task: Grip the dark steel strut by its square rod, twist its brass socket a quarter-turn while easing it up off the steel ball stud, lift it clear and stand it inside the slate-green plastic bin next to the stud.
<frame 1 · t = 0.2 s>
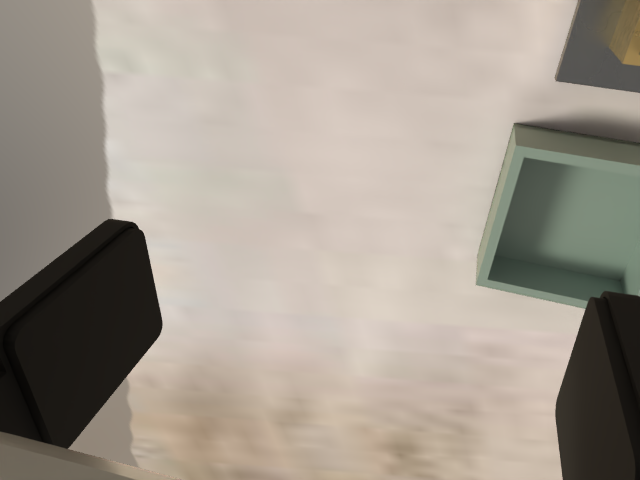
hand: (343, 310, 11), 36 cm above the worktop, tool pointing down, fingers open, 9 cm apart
bin: (571, 208, 45), on the worktop
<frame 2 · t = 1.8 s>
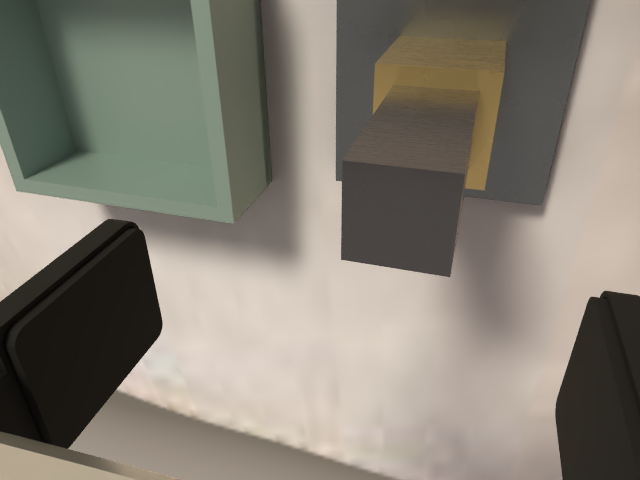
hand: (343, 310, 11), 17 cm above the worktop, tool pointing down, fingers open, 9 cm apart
bin: (149, 54, 28), on the worktop
strut: (445, 90, 23), point 1 cm above the worktop, touching ball stud
ball stud: (447, 84, 24), on the worktop
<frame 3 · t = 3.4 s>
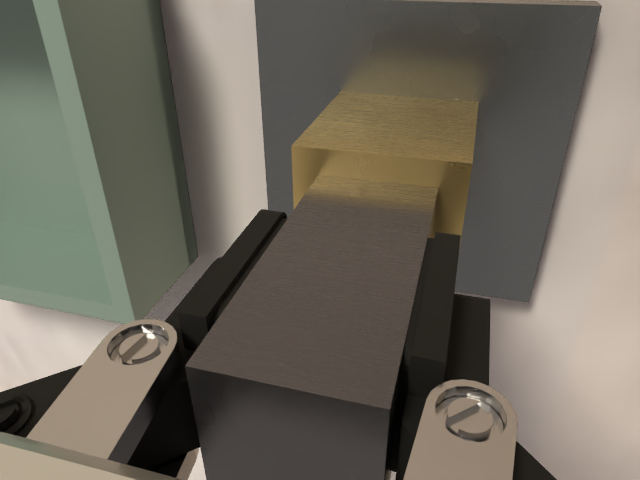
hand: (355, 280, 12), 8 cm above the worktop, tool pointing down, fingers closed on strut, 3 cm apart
bin: (37, 104, 22), on the worktop
strut: (402, 161, 18), point 1 cm above the worktop, touching ball stud, gripper
ball stud: (406, 150, 19), on the worktop
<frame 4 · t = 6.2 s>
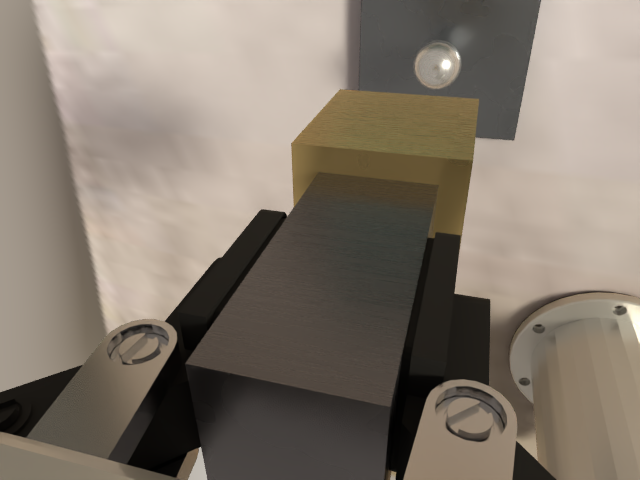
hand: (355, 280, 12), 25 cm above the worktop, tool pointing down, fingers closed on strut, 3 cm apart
strut: (402, 158, 18), point 18 cm above the worktop, touching gripper
ball stud: (443, 50, 33), on the worktop
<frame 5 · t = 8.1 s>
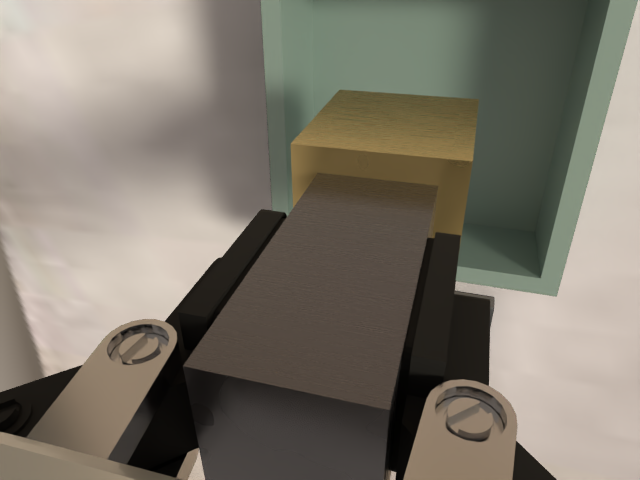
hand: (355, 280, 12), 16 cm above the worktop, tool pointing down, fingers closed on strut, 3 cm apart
bin: (432, 104, 25), on the worktop
strut: (402, 159, 18), point 9 cm above the worktop, touching gripper
when the fingers open (9 cm above the worktop, at t = 9.5 s): strut drops 1 cm, resting on bin.
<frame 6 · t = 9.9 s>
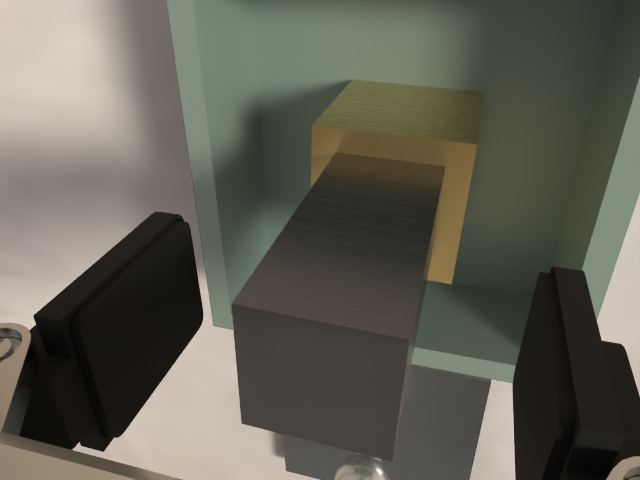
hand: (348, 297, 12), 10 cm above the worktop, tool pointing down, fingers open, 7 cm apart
bin: (411, 138, 20), on the worktop
strut: (408, 146, 19), point 1 cm above the worktop, touching bin
ball stud: (377, 417, 28), on the worktop
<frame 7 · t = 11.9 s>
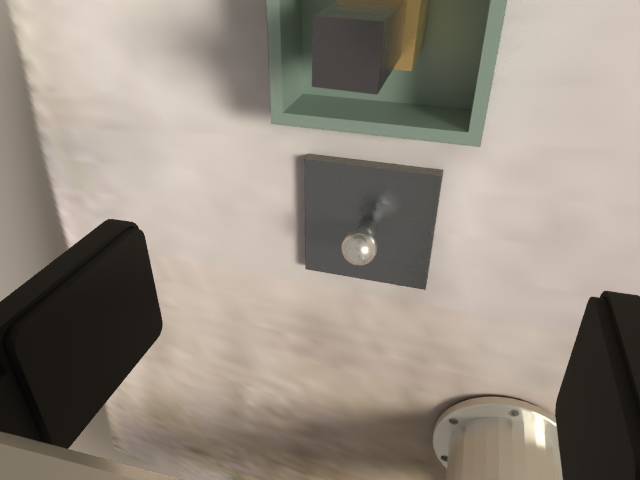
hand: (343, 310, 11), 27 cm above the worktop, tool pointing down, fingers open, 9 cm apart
bin: (392, 7, 33), on the worktop
strut: (391, 10, 32), point 1 cm above the worktop, touching bin
ball stud: (369, 220, 42), on the worktop
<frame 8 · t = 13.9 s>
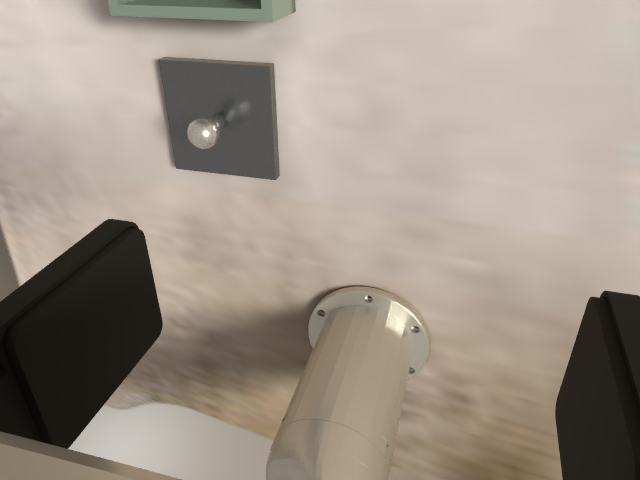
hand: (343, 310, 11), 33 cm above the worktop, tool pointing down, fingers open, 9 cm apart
ball stud: (223, 118, 47), on the worktop
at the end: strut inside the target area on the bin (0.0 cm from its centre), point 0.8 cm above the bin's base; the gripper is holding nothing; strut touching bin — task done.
